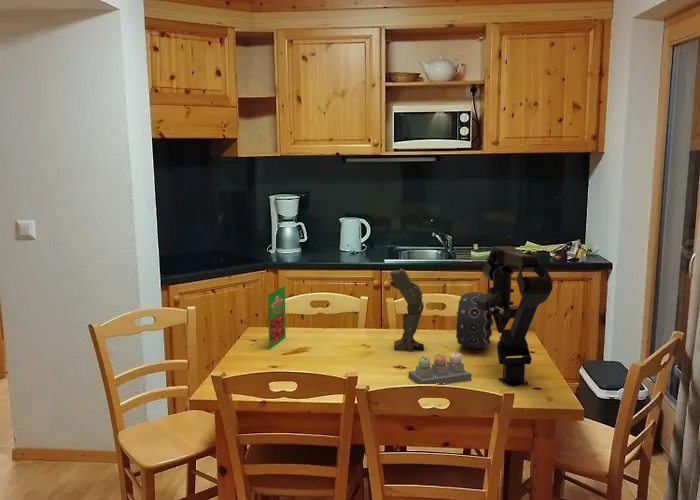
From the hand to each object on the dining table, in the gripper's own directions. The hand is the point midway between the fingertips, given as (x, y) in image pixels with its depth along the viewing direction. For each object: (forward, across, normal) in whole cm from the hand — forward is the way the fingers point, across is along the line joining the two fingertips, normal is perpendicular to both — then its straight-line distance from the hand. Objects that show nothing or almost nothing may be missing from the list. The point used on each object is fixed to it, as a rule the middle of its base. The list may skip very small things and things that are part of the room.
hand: (500, 332), depth 209 cm
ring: (+12, -22, +5) cm, 26 cm away
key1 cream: (+10, +1, -17) cm, 20 cm away
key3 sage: (+10, +1, -28) cm, 30 cm away
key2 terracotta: (+10, +1, -22) cm, 24 cm away
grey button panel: (+12, +1, -22) cm, 26 cm away
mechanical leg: (+12, -30, -18) cm, 37 cm away
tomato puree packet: (+12, -53, -59) cm, 80 cm away
